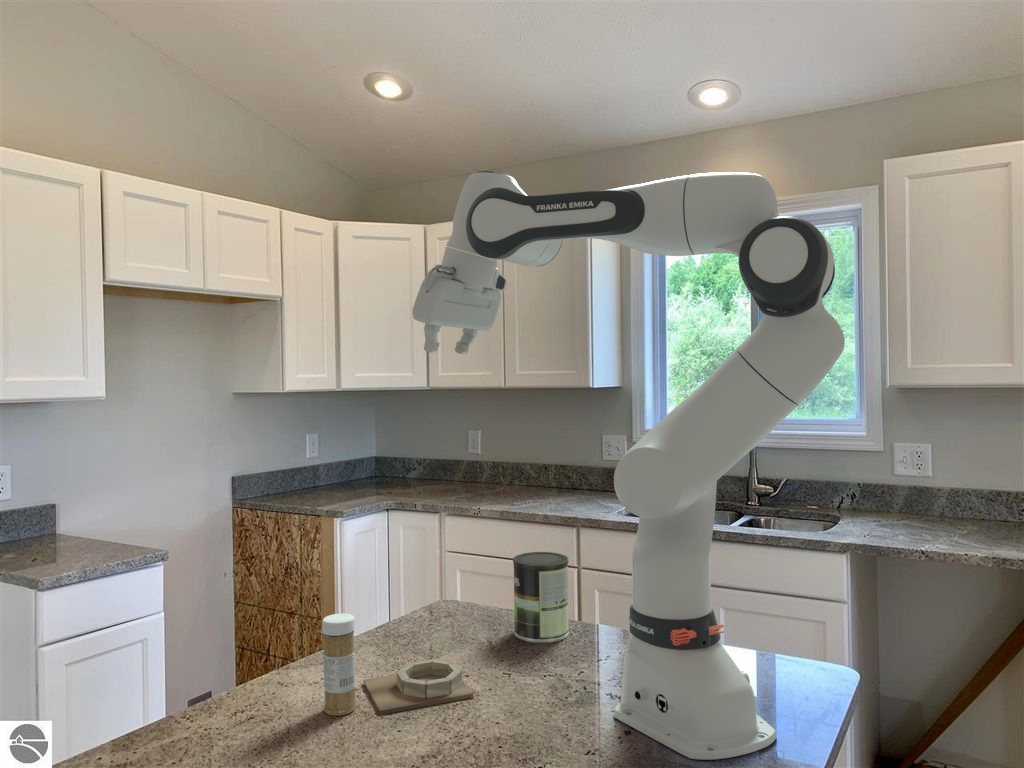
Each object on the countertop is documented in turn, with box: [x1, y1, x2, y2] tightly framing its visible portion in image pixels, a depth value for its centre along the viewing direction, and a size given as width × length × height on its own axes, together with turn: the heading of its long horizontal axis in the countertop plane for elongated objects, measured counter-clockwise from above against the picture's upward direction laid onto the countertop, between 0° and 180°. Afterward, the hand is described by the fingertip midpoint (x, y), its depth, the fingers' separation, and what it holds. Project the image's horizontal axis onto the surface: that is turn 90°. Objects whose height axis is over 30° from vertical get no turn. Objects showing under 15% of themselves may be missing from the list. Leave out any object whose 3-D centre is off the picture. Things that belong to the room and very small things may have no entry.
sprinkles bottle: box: [321, 613, 357, 717], centre depth 108 cm, size 5×5×14 cm
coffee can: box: [512, 551, 570, 644], centre depth 139 cm, size 10×10×14 cm
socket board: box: [362, 658, 474, 716], centre depth 115 cm, size 12×14×3 cm
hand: (445, 352), depth 124 cm, fingers open, 8 cm apart
